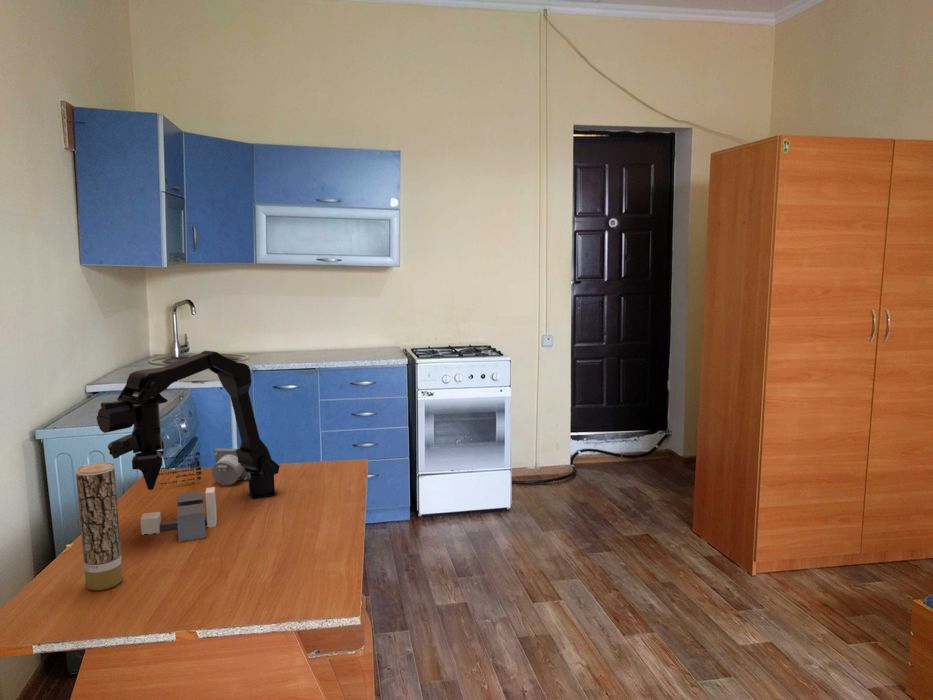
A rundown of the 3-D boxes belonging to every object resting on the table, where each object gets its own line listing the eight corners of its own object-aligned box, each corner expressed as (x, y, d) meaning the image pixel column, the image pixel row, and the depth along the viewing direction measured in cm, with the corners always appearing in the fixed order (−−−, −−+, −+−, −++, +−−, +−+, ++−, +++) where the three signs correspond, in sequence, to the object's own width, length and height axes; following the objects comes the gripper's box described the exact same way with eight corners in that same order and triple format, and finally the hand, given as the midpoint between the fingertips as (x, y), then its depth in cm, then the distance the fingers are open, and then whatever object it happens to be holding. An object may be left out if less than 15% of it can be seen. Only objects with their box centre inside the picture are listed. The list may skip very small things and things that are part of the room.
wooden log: (107, 593, 134) (97, 474, 130) (78, 590, 135) (67, 471, 132) (130, 577, 140) (121, 463, 137) (102, 574, 142) (93, 461, 138)
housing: (203, 514, 175) (202, 490, 174) (205, 538, 160) (204, 512, 159) (179, 518, 172) (177, 494, 171) (178, 542, 158) (177, 516, 157)
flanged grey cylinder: (248, 473, 208) (246, 442, 206) (255, 484, 198) (253, 452, 197) (154, 487, 195) (152, 455, 194) (157, 500, 185) (155, 465, 184)
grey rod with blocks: (216, 520, 171) (214, 487, 169) (215, 526, 167) (213, 492, 165) (144, 528, 166) (141, 494, 164) (141, 535, 162) (139, 499, 160)
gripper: (112, 418, 164) (117, 478, 167) (104, 436, 147) (109, 504, 149) (162, 414, 169) (166, 473, 171) (159, 431, 152) (164, 497, 154)
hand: (151, 486), depth 161 cm, fingers open, 5 cm apart
